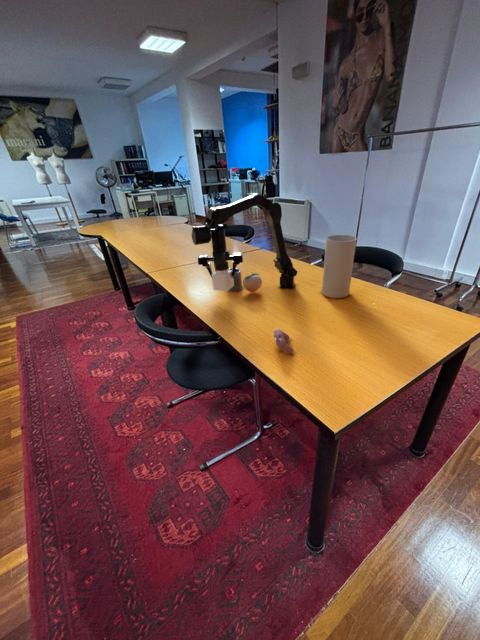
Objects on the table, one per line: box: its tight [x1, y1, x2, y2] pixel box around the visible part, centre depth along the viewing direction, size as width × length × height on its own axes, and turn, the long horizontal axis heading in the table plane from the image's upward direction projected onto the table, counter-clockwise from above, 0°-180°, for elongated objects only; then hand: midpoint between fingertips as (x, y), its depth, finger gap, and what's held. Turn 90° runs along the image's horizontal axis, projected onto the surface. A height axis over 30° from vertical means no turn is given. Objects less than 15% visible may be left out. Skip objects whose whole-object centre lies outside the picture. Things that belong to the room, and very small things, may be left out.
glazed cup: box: [228, 268, 243, 292], centre depth 145 cm, size 7×7×9 cm
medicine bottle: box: [210, 261, 234, 292], centre depth 129 cm, size 7×7×12 cm
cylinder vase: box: [321, 234, 358, 299], centre depth 132 cm, size 12×12×25 cm
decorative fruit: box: [242, 272, 263, 293], centre depth 140 cm, size 9×8×10 cm
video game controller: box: [272, 329, 294, 355], centre depth 99 cm, size 10×5×7 cm, turn 5°
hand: (222, 278), depth 130 cm, fingers closed on medicine bottle, 8 cm apart
